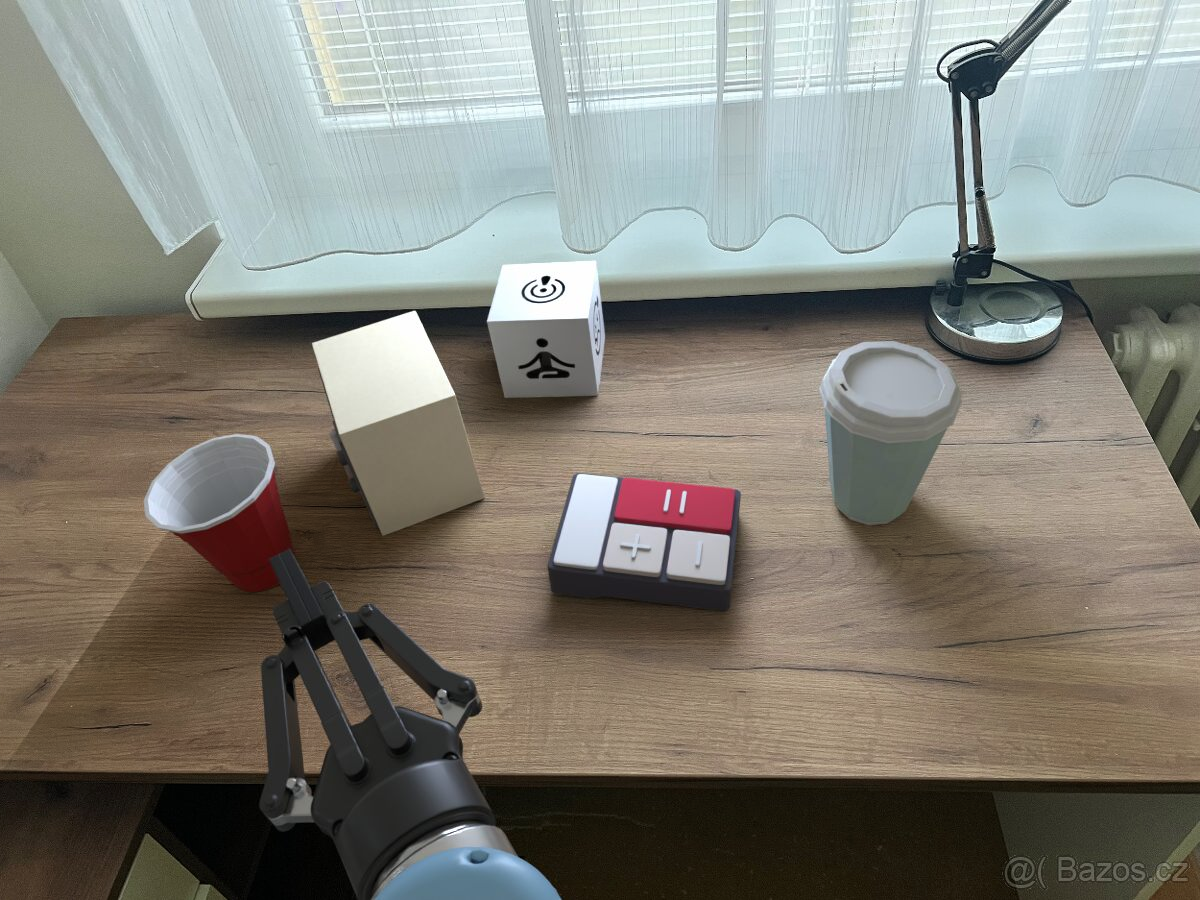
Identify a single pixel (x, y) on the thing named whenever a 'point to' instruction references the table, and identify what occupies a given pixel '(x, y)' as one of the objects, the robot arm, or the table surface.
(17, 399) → the table surface
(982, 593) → the table surface
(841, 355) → the disposable coffee cup
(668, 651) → the table surface
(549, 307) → the icon cube
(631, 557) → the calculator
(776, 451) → the table surface
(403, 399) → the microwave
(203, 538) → the plastic cup
